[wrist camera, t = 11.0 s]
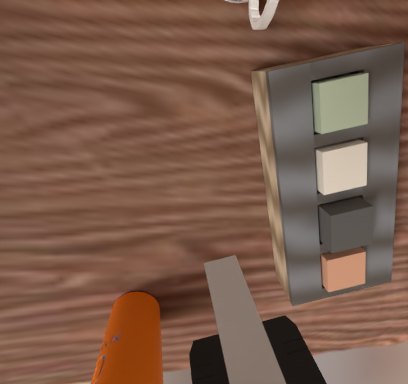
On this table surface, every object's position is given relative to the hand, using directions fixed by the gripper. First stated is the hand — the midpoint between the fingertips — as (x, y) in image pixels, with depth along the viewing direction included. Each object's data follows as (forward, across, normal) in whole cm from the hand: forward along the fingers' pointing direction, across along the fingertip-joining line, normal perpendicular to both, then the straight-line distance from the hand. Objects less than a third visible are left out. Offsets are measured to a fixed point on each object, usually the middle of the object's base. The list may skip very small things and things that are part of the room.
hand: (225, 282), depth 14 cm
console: (+26, +16, -8) cm, 32 cm away
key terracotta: (+22, +16, -19) cm, 33 cm away
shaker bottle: (+26, -13, -22) cm, 37 cm away
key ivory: (+22, +16, -5) cm, 28 cm away
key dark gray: (+21, +16, -12) cm, 29 cm away
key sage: (+22, +16, +2) cm, 28 cm away
